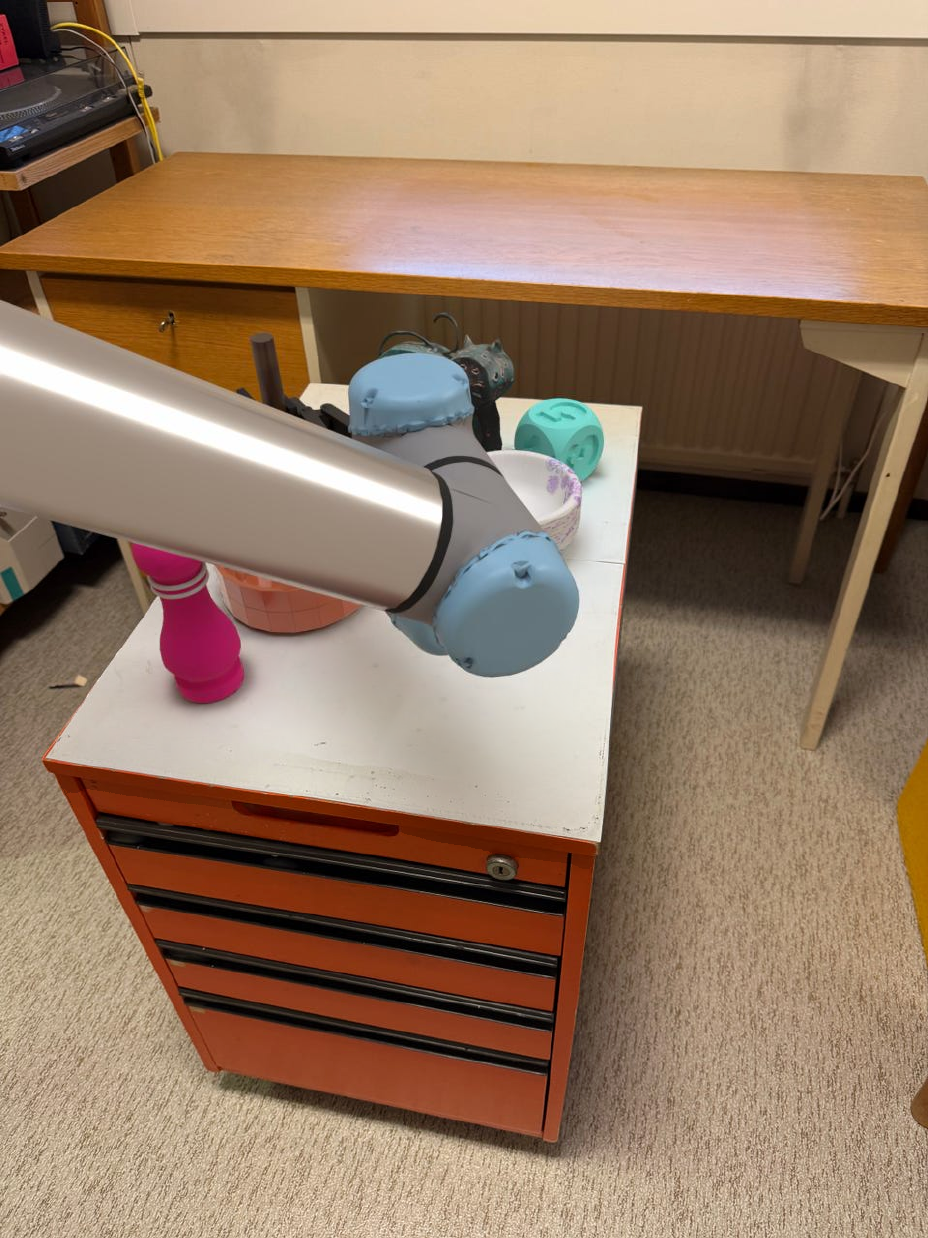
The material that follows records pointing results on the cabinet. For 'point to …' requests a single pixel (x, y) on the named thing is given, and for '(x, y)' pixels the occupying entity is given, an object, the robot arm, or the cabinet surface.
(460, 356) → the ceramic cat
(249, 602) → the bowl
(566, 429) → the decorative dice
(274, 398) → the dowel on disc base
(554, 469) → the paper bowls
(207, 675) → the pepper mill
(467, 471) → the robot arm
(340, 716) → the cabinet surface
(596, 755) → the cabinet surface
